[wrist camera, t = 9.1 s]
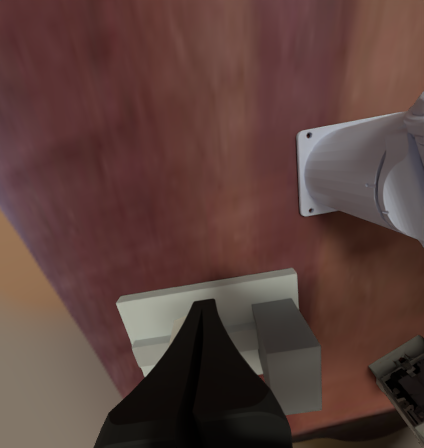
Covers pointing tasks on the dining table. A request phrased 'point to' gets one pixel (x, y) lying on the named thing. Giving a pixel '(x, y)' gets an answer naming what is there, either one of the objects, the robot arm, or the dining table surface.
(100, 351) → the dining table surface
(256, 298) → the rail plate
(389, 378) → the electrical switch
